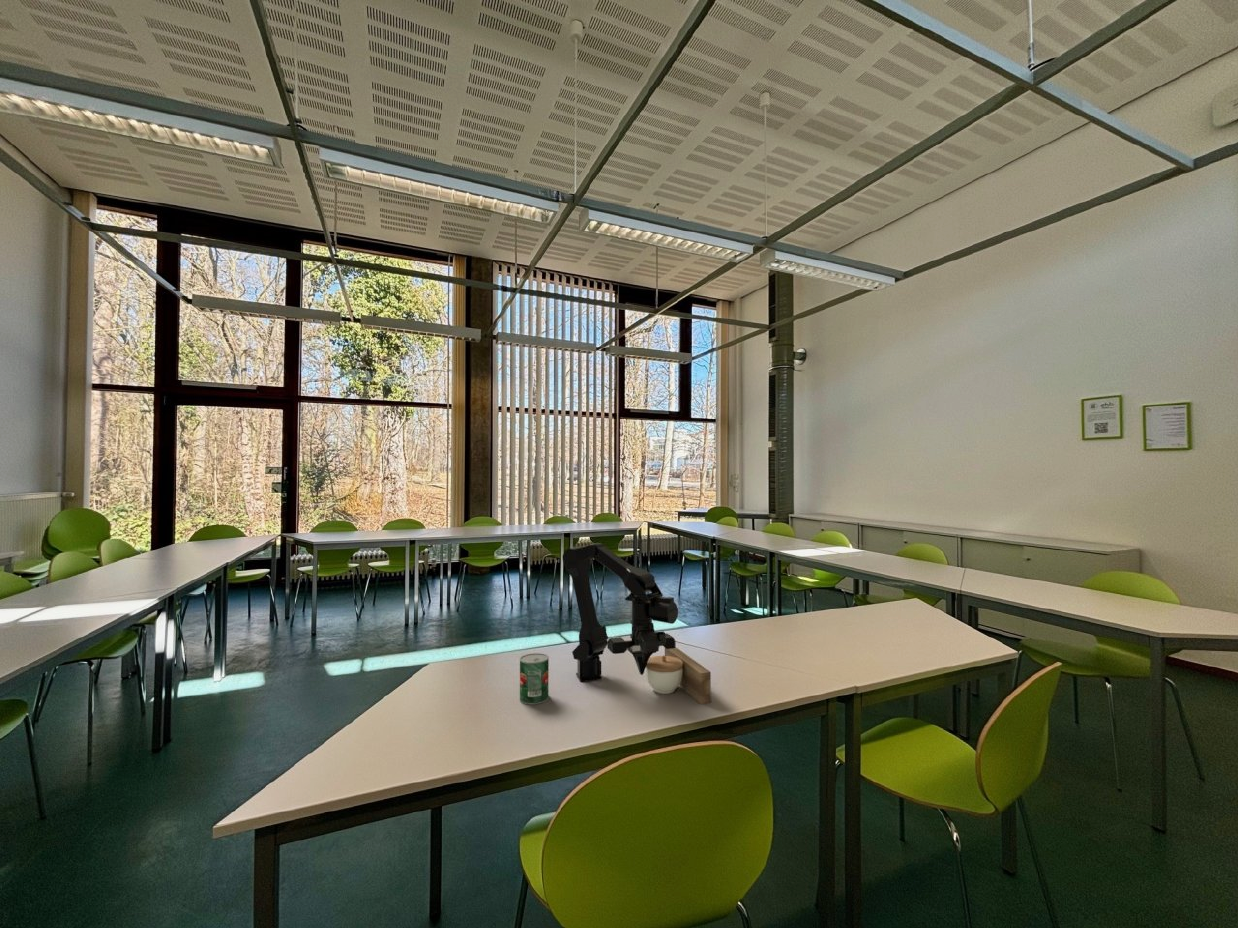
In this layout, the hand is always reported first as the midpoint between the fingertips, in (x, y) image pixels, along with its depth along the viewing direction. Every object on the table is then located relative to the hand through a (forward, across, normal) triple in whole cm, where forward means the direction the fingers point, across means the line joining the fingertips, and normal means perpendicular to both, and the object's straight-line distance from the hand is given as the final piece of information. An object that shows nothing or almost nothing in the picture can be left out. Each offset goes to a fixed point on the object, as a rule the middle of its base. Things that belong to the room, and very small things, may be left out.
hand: (641, 674), depth 141 cm
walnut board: (+5, +14, 0) cm, 15 cm away
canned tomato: (+6, -29, +6) cm, 30 cm away
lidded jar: (+5, +7, 0) cm, 9 cm away
